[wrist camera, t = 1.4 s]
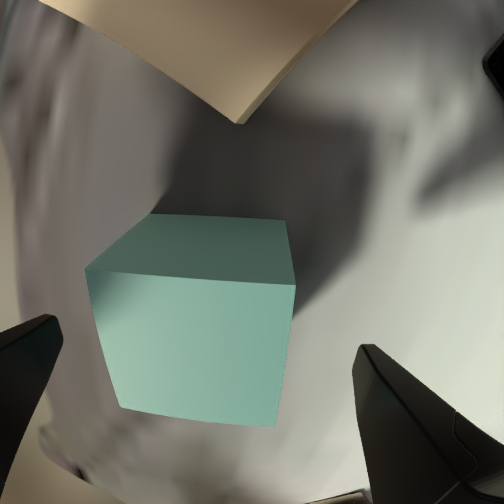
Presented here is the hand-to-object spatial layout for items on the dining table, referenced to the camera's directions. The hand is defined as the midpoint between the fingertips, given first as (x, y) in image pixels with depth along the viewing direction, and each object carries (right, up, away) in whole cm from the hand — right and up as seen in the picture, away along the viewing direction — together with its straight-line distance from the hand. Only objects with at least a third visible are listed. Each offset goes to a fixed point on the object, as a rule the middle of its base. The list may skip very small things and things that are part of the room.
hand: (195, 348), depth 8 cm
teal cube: (0, +2, +4) cm, 4 cm away
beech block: (+1, +12, 0) cm, 12 cm away
